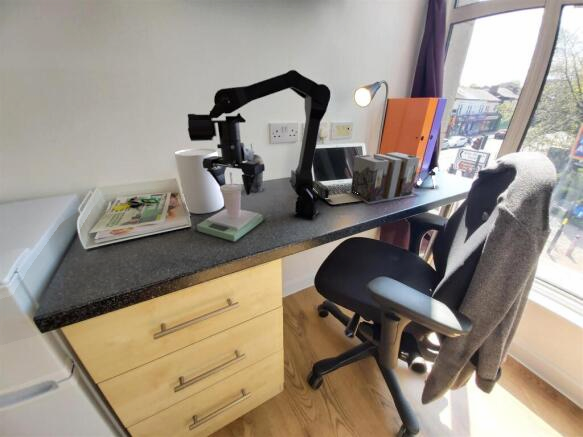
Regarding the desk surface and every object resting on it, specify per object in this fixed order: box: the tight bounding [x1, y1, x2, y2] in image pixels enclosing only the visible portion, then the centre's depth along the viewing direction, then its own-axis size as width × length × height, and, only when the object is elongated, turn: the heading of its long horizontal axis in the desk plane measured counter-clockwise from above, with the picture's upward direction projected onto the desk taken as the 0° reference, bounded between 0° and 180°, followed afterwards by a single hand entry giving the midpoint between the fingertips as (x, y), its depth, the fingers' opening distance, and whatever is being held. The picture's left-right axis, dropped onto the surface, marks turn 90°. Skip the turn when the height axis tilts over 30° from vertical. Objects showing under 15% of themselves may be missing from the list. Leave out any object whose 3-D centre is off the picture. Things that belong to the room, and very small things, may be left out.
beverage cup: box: [246, 143, 264, 193], centre depth 101 cm, size 7×7×20 cm
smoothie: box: [220, 171, 243, 219], centre depth 71 cm, size 6×6×14 cm
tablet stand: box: [415, 167, 439, 190], centre depth 109 cm, size 9×8×8 cm
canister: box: [174, 147, 225, 215], centre depth 84 cm, size 14×14×20 cm
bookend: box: [345, 151, 421, 205], centre depth 98 cm, size 16×25×16 cm, turn 113°
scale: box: [196, 208, 264, 243], centre depth 74 cm, size 14×15×3 cm
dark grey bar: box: [313, 180, 332, 202], centre depth 98 cm, size 5×3×15 cm
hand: (235, 192), depth 73 cm, fingers open, 9 cm apart
